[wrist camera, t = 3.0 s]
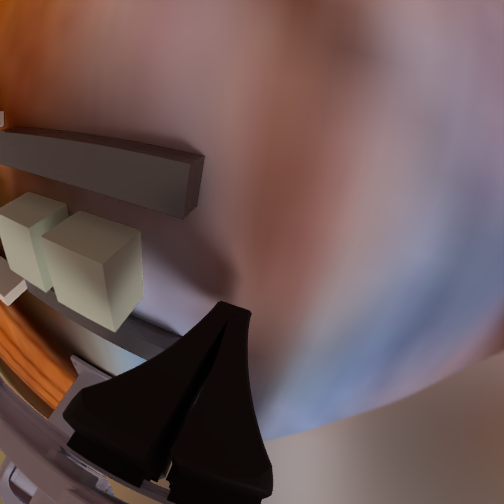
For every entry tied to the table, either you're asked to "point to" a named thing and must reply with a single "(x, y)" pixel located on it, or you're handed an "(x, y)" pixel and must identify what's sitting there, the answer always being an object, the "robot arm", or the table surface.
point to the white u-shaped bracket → (9, 271)
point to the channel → (114, 185)
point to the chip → (30, 235)
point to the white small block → (95, 267)
